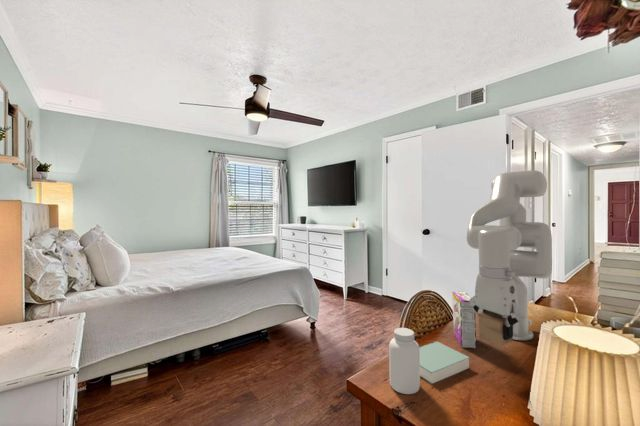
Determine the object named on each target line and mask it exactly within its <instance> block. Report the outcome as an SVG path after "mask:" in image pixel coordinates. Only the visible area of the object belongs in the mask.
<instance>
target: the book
mask: <svg viewBox="0 0 640 426" xmlns="http://www.w3.org/2000/svg"><path fill="white" fill-rule="evenodd" d="M419 348H420V378H422V379H424V380H425V381H426V382H427V383H429V384H430V385H434V384H436V383H438V382H440V381H443V380H445V379H447V378H449V377H452V376H455V375H458V374H459V373H461V372H464V371H467V370H468V369H470V356H468V355H465V354H464V353H462V352H460V351H458V350H456V349H454V348H451V347H450V346H447V345H446V344H443V343H441V342H439V341H437V340H435V341H433V342H431V343H427V344H425V345H421V346H419Z"/></svg>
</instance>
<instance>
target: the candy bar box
mask: <svg viewBox="0 0 640 426" xmlns="http://www.w3.org/2000/svg"><path fill="white" fill-rule="evenodd" d="M471 298H472V297H471V295H469V294H468V293H467V292H466V291H452V318H453V335H454V336H455V338H456V340H457V342H458V343H459V345H460V347H461V348H464V349H477V333H476V332H477V327H476V311H475V309H474V308H473V306H472V305H471V303H470V302H469V300H470V299H471Z"/></svg>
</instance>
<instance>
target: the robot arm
mask: <svg viewBox="0 0 640 426" xmlns="http://www.w3.org/2000/svg"><path fill="white" fill-rule="evenodd" d="M490 187H491V193H490V199H489V201H488V202H486V203H485V204H484V205H482V206H481V207H480V208H478V209H476V211H475V212H474V213H473V214H472V215H471V217H470V219H469V223H468V227H467V231H466V242H467V244H468V246H469V247H470V248H472V249H477V250H478V270H479V271H478V274H477V276H476V281H475V288H474V289H475V290H474V296H472V297H471V299H470V300H469V302H470V303H471V305H472V306H473V308H474V309H475V313H476V315H477V316H478V317H479V315H478V313H481V312H484V311H486V310H487V311H490V312H494V313H497V314H500V315H502V318H503V320H504V323H505V325H504V326H503V339H504V340H508V339H510V338H512V337H513V340H514V341H530V340H532V339H533V338H534V333H533V332H532V330H529V326H531V325H533V321H532V320H531V319H528V318H529V317H528V315H529V313H528V312H529V310H528V309H529V308H528V306H529V305H528V288H527V285H526V284H525V282H524V281H523V280H522V279H521V278H520V277H522V278H533V279H542V280H543V279H548V278H550V277H551V276H552V272H553V245H552V244H553V243H552V241H553V240H552V239H553V238H552V237H553V236H552V231H551V228H550V226H549V225H548V224H547V223H545V222H538V221H527V210H526V208H525V206H523V204H522V203H521V201H520V200H521V198H538V197H539V198H541V197H543V196H544V195H545V194H546V192H547V189H548V181H547V178H546V176H545V175H544V173H543V172H542V171H539V170H532V169H531V170H522V171H521V170H519V171H511V172H510V171H508V172H504V173H501V174H498V175H497V176H496V177H495V178H494V179H493V180H492V181H491V186H490ZM498 220H499V225H490V224H489V223H491V222H496V221H498ZM486 224H487V225H486ZM488 224H489V225H488ZM519 248H532V249H535V251H534V250H523V249H522V250H520V249H519Z"/></svg>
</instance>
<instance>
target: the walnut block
mask: <svg viewBox="0 0 640 426" xmlns="http://www.w3.org/2000/svg"><path fill="white" fill-rule="evenodd" d="M478 315H479V316H478ZM478 315H477V316H478V336H479V337H478V338H481V339H483V340H486V341H487V342H490V343H493V344H495V345H497V346H499V347H500V346H503V345H505V344H507V343H510V342H511V341H513V340H514V339H513V337H512V338H510V339H508V340H504V339H503V326H504V325H505V323H504V320H503V318H502V315H500V314H497V313H494V312H490V311H487V310H486V311H484V312H481V313H478Z"/></svg>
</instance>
